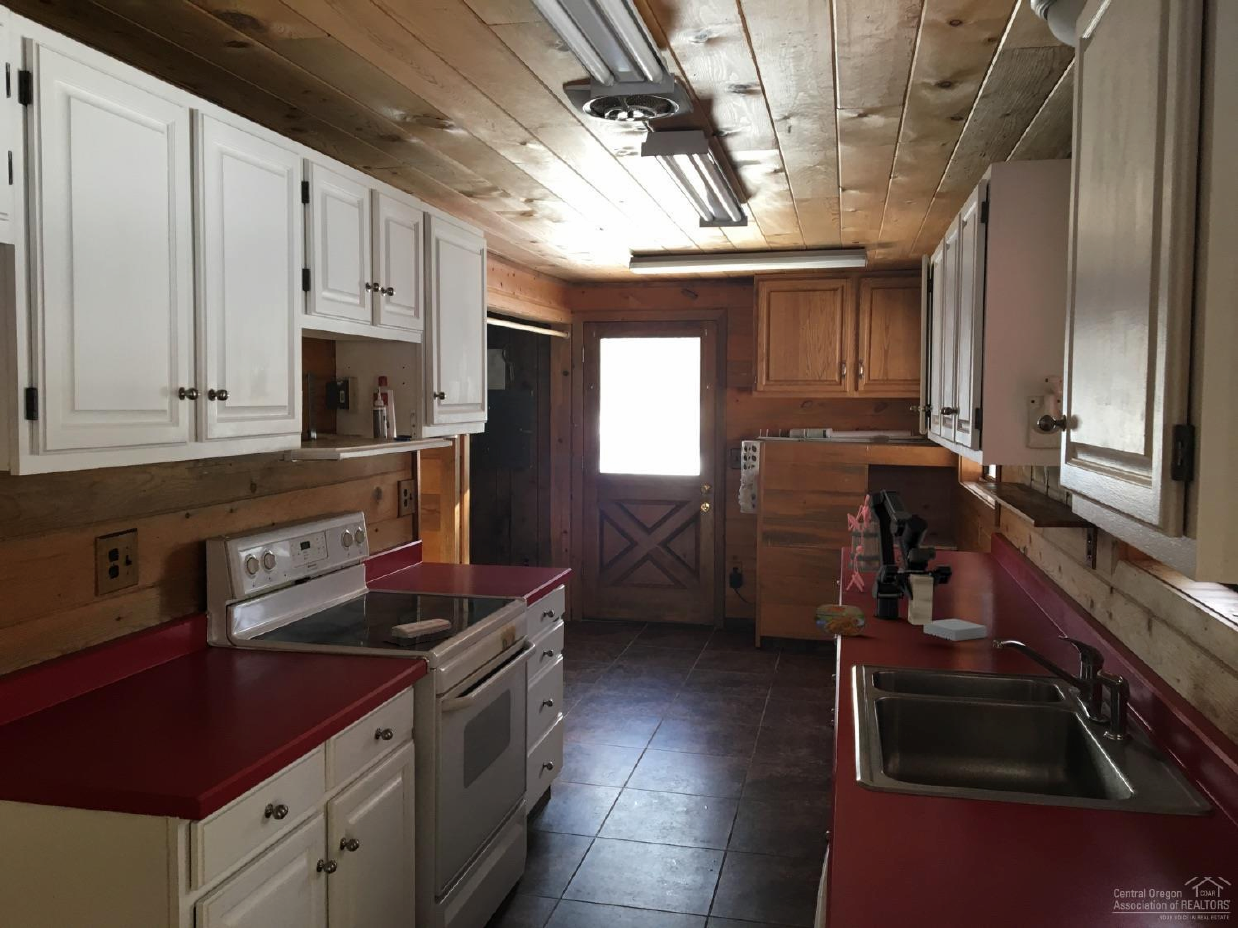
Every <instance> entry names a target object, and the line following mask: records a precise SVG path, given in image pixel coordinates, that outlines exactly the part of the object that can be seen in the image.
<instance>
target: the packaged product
mask: <svg viewBox="0 0 1238 928" xmlns="http://www.w3.org/2000/svg"><path fill="white" fill-rule="evenodd" d="M450 628H452V629H453V627H452V625H451V622H450V621H449V620H447V619H444V618H443V619H442V618H435V619H434V618H433V619H429V620H428V619H427V620H422V621H418V622H411V623H406V624H400V625H396V626H395V625H394V626H392V628H391V631H390V632H391V635H392V636H396V637H397V636H398V637H402V638H413V637H416V636H421V635H424V634H431V633H435V632H439V631H442V630H446V629H450Z"/></svg>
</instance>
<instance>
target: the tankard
mask: <svg viewBox="0 0 1238 928" xmlns="http://www.w3.org/2000/svg"><path fill="white" fill-rule="evenodd" d="M858 523H859V525H860V530H861V531H862V532H863V541H862V547H863V548H864V551H863V552H862V553H859V555H858V556H857V557H856V559H857V567H858V570H859V571H879V569H880V556H879V544H878V532H877V522H876V521H872V520H869V522H868V526H867V528H865V527H864V520H861V521H858ZM861 537H862V533H861V532H860V531H858V530H857V529H856V528H855V527H852V530H851V551H850V555H849V558H850V563H848V564H847V567H846V568H849V569H852V570H854V558H855V554H857V553H858V552H857V551H856V548H857V547H858V546H861ZM896 539H897V537H894V536H893V543H895V542H896ZM899 558H901V554H899V555H897V556H896V561H897V562H898V563H897V562H895V565H898V566H902V560H900V559H899ZM856 559H855V570H857V567H856Z"/></svg>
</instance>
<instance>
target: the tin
mask: <svg viewBox="0 0 1238 928" xmlns="http://www.w3.org/2000/svg"><path fill="white" fill-rule="evenodd" d="M813 622H814V625H815V627H816V629H817V630H818V631H820V632H821V633H823V634H827V635H828V634H829V635H838V636H846V637H847V636H848V637H849V636H850V637H854V636H858V635H860V634H862V633H863V632H864V631H865V630H866V628H867V624H868V617H867V615H866V613H865V612H864V610H863V609H861V608H860V607H858V606H853V605H841V604H840V605H839V604H822V605H820V606H819V607H818V608H817V609H816V610H815V612H814V615H813Z"/></svg>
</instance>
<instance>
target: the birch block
mask: <svg viewBox="0 0 1238 928" xmlns="http://www.w3.org/2000/svg"><path fill="white" fill-rule="evenodd" d="M909 584H910V587H911V590H912V594H913V600H912V601H911V600H910V599H909V598H908V609H907V610H908V616H907V621H908V622H909V623H910V624H912V625H914V626H915V625H919V626H921V625H923V626H924V625H931V622H932V621H933V620H932V619H933V618H932V617H933V616H932V615H933V600H932V598H933V599H934V595H933V578H932V577H931V576H929V575H913V574H910V578H909Z"/></svg>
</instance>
